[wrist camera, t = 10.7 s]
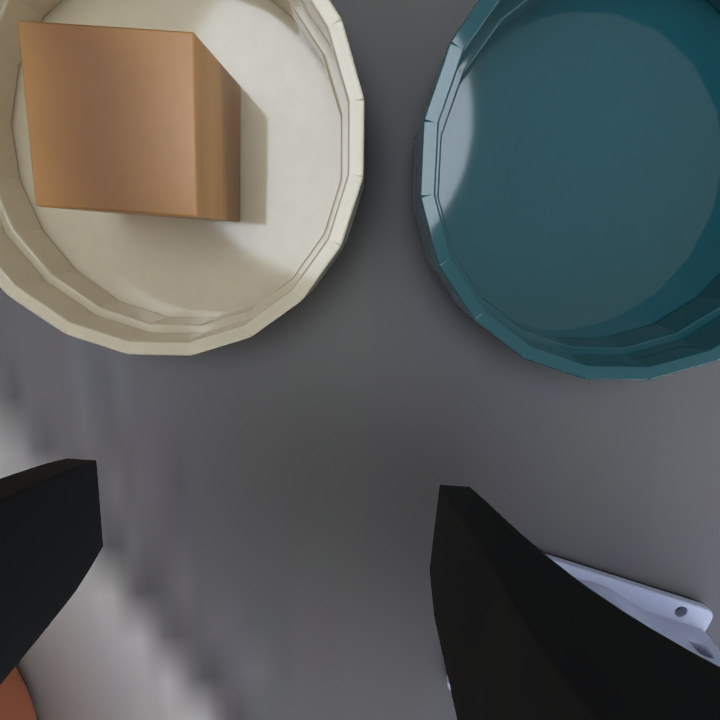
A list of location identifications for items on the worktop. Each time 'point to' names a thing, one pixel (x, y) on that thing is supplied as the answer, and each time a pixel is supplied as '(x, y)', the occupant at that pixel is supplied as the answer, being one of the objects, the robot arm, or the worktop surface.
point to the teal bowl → (579, 181)
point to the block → (130, 122)
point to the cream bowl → (196, 236)
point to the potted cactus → (15, 699)
